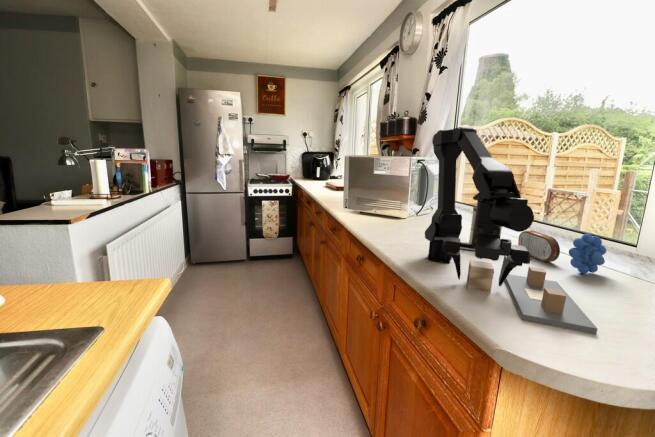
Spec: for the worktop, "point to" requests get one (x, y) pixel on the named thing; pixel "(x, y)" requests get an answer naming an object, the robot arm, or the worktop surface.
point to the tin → (540, 245)
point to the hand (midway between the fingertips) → (478, 282)
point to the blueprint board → (547, 317)
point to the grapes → (587, 253)
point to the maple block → (480, 276)
